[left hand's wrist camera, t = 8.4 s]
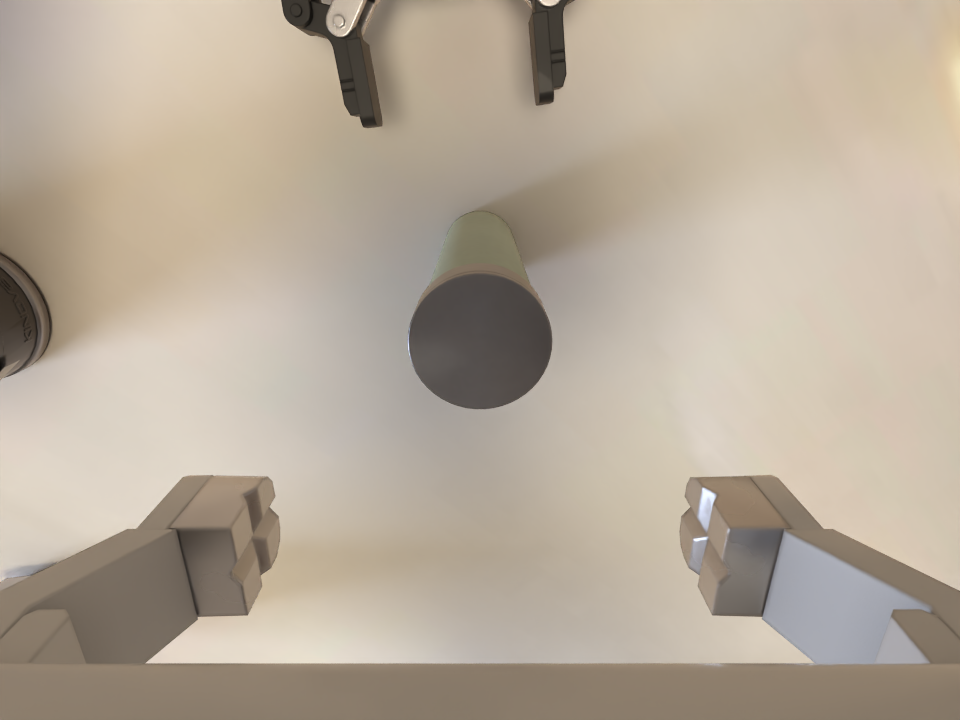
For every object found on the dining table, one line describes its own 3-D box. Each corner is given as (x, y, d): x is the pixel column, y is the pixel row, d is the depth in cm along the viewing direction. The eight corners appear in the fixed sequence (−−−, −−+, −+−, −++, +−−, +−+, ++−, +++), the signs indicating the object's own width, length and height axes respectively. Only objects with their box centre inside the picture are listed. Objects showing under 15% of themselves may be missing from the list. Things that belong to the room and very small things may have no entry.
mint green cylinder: (526, 230, 36) (569, 311, 19) (495, 291, 38) (508, 418, 20) (463, 198, 35) (448, 252, 18) (434, 262, 37) (394, 367, 20)
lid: (571, 299, 20) (578, 312, 18) (508, 409, 22) (510, 430, 20) (447, 238, 19) (444, 247, 18) (392, 357, 21) (385, 375, 19)
